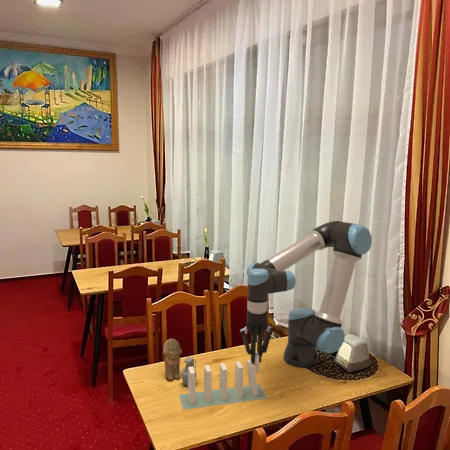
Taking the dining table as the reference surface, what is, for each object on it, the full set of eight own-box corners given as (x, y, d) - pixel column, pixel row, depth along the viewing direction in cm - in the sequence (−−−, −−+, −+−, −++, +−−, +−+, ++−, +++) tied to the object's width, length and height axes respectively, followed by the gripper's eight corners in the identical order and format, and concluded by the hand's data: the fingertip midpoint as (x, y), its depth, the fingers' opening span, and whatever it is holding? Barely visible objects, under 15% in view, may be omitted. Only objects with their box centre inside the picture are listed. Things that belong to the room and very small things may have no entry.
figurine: (169, 383, 168) (168, 348, 166) (160, 375, 175) (159, 340, 173) (187, 378, 173) (187, 343, 170) (178, 369, 180) (178, 336, 177)
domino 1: (193, 396, 158) (192, 366, 156) (195, 403, 153) (195, 373, 152) (188, 397, 158) (188, 367, 156) (190, 404, 153) (190, 373, 151)
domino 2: (208, 394, 160) (208, 364, 158) (211, 401, 155) (211, 371, 153) (204, 395, 159) (204, 365, 157) (206, 402, 154) (206, 371, 153)
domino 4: (239, 390, 162) (239, 361, 161) (242, 397, 158) (243, 367, 156) (234, 391, 162) (235, 361, 160) (238, 398, 157) (238, 368, 155)
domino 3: (224, 392, 161) (224, 363, 159) (227, 399, 156) (227, 369, 154) (219, 393, 161) (219, 363, 159) (222, 400, 156) (222, 369, 154)
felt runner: (259, 385, 167) (259, 384, 167) (268, 399, 158) (268, 398, 157) (179, 396, 159) (179, 394, 159) (183, 411, 150) (183, 409, 150)
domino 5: (254, 388, 164) (251, 359, 162) (258, 395, 159) (255, 365, 157) (249, 389, 163) (246, 360, 161) (253, 396, 159) (250, 366, 157)
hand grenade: (192, 390, 163) (191, 364, 162) (178, 387, 166) (178, 361, 164) (199, 382, 169) (199, 356, 168) (186, 379, 171) (186, 354, 170)
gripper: (270, 306, 162) (268, 363, 165) (237, 308, 159) (236, 367, 162) (277, 312, 154) (275, 373, 158) (243, 315, 151) (242, 377, 155)
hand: (255, 370), depth 160 cm, fingers closed
